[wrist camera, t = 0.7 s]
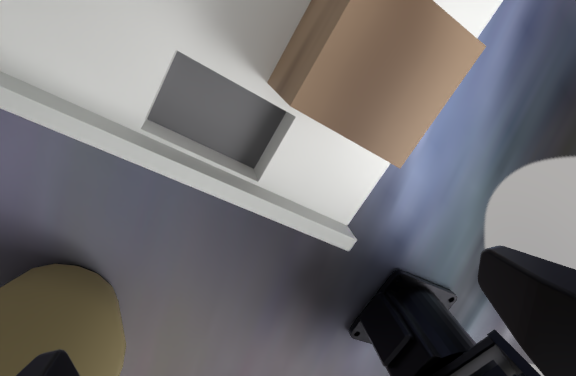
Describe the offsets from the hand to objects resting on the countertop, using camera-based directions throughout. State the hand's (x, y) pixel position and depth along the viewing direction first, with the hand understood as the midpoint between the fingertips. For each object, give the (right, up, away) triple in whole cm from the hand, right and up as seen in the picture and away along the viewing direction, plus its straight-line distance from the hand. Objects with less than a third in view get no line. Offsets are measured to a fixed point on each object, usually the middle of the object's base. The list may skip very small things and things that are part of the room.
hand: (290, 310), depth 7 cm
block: (+2, +8, +9) cm, 12 cm away
